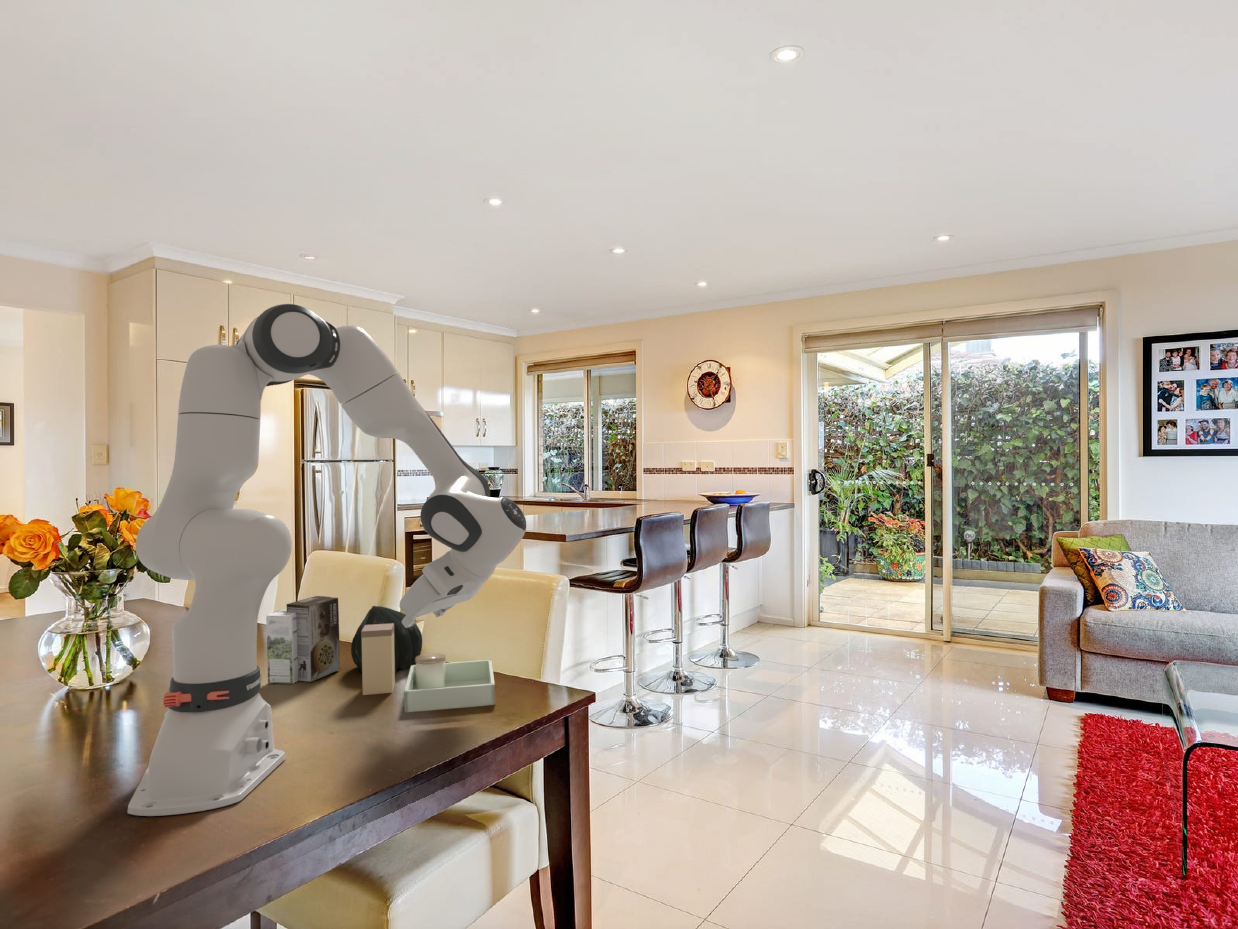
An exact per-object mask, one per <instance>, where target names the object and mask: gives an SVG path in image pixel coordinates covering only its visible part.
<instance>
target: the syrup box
mask: <svg viewBox="0 0 1238 929" xmlns="http://www.w3.org/2000/svg"><path fill="white" fill-rule="evenodd" d="M265 617H266V618H265V620H266V626H265V627H266V655H267V656H266V662H267V665H266V666H267V684H271V685H272V684H277V685H279V684H282V685H283V684H284V685H285V684H286V685H287V684H288V685H290V684H291V685H292V684H296V683H298V682H299V681H298V653H297V615H296V613H292V612H287V609H278V610H276V611H273V612H270V613H268V614H266V616H265ZM297 681H298V682H297ZM295 682H296V683H295Z"/></svg>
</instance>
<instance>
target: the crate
mask: <svg viewBox="0 0 1238 929" xmlns="http://www.w3.org/2000/svg"><path fill="white" fill-rule="evenodd" d="M445 686H446V687H444V688H432V689H419V690H416V664H410V668H409V671H408V676H407V680H406V684H405V687H404V691H403V692H404V695H403V696H404V697H403V698H404V703H403V704H404V713H415V712H416V713H417V712H429V711H437V710H450V709H451V710H452V709H464V708H474V707H484V706H496V684H495V676H494V669H493V661H492V659H481V660H469V661H467V660H465V661H455V662H453V661H452V662H445Z"/></svg>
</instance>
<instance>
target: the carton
mask: <svg viewBox="0 0 1238 929" xmlns="http://www.w3.org/2000/svg"><path fill="white" fill-rule="evenodd" d="M361 638H362V670H361V672H362V674H361V676H362V677H361V678H362V684H361V685H362V696H366V695H367V696H368V695H380V694H390V693H391V694H393V692H394V688H395V685H396V677H395V676H396V672H395V656H394V623H391V624H374V625H365V626H364V628H363V629H362V631H361Z"/></svg>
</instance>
